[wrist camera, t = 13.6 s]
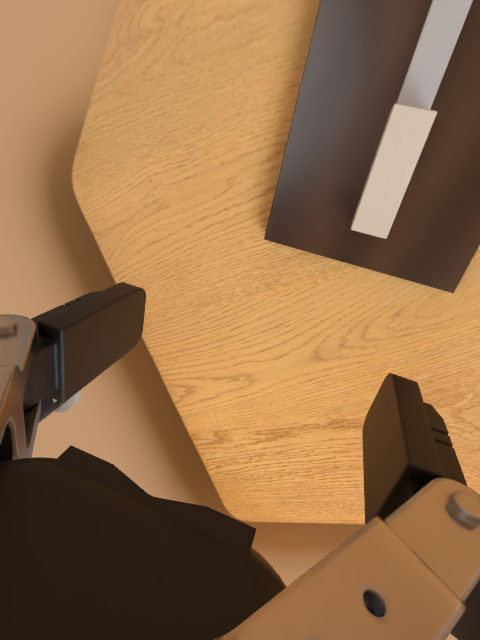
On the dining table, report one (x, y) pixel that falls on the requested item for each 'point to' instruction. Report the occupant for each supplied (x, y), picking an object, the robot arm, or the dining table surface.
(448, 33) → the knife
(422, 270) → the cutting board
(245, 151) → the dining table surface
